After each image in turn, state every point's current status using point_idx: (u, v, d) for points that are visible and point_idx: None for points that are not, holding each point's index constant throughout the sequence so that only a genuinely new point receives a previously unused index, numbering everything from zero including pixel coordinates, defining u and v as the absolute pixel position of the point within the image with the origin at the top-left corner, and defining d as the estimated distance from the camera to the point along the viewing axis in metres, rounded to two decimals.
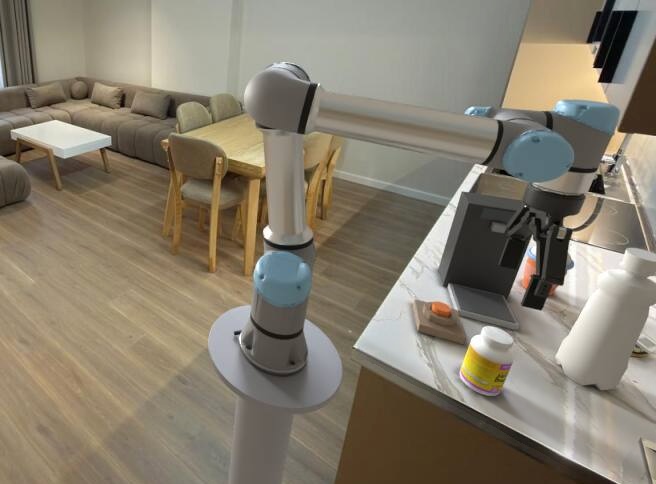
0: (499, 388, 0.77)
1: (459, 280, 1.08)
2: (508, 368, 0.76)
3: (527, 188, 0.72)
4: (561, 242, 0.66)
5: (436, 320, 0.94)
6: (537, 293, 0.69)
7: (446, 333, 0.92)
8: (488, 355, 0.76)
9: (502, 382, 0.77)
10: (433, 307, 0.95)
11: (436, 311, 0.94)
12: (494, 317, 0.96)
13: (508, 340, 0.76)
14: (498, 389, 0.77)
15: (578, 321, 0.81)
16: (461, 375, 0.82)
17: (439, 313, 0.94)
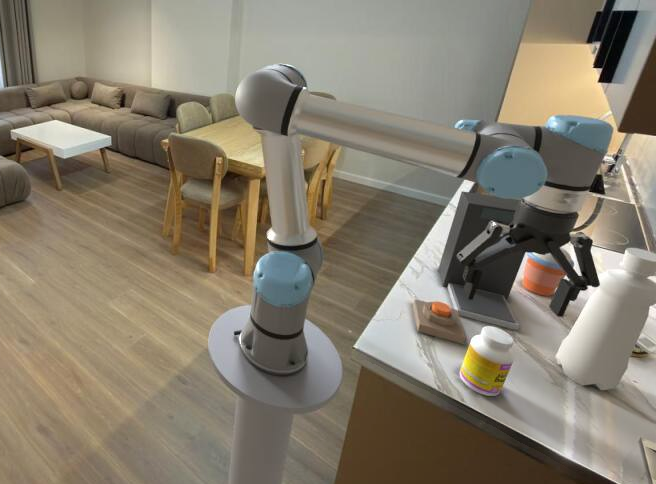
0: (499, 388, 0.77)
1: (459, 280, 1.08)
2: (508, 368, 0.76)
3: None
4: (487, 234, 0.73)
5: (436, 320, 0.94)
6: (463, 275, 0.77)
7: (446, 333, 0.92)
8: (488, 355, 0.76)
9: (502, 382, 0.77)
10: (433, 307, 0.95)
11: (436, 311, 0.94)
12: (494, 317, 0.96)
13: (508, 340, 0.76)
14: (498, 389, 0.77)
15: (578, 321, 0.81)
16: (461, 375, 0.82)
17: (439, 313, 0.94)
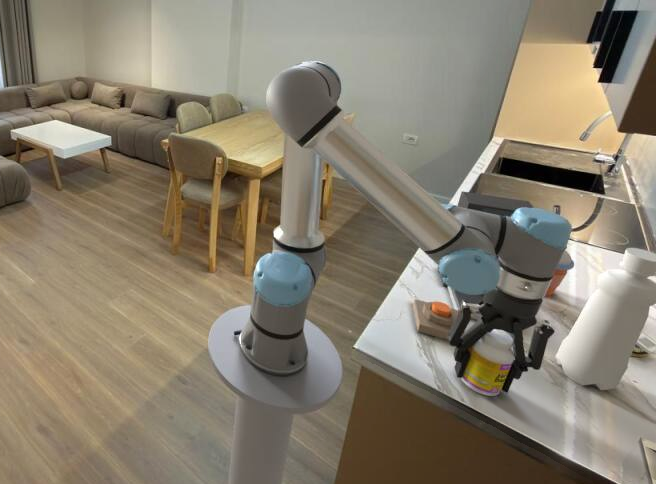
0: (499, 388, 0.77)
1: None
2: (508, 368, 0.76)
3: None
4: (461, 314, 0.78)
5: (436, 320, 0.94)
6: (453, 353, 0.82)
7: (446, 333, 0.92)
8: (488, 355, 0.76)
9: (502, 382, 0.77)
10: (433, 307, 0.95)
11: (436, 311, 0.94)
12: None
13: (508, 340, 0.76)
14: (498, 389, 0.77)
15: (578, 321, 0.81)
16: None
17: (439, 313, 0.94)
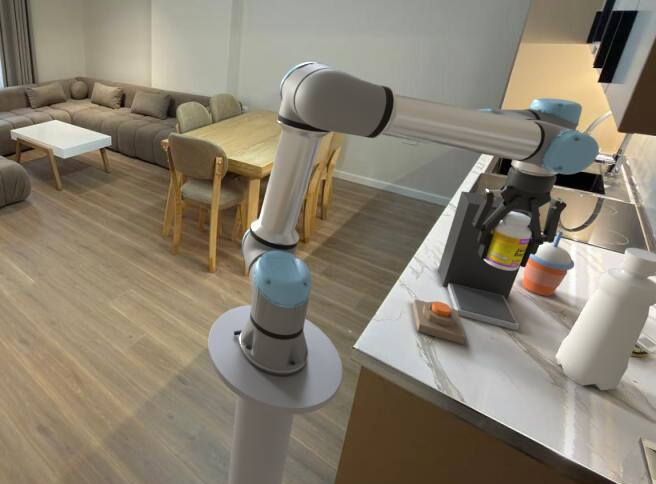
0: (518, 262, 0.90)
1: (459, 280, 1.08)
2: (526, 243, 0.88)
3: None
4: (485, 200, 0.91)
5: (436, 320, 0.94)
6: (477, 239, 0.95)
7: (446, 333, 0.92)
8: (509, 232, 0.88)
9: (521, 257, 0.89)
10: (433, 307, 0.95)
11: (436, 311, 0.94)
12: (494, 317, 0.96)
13: (526, 218, 0.88)
14: (517, 263, 0.90)
15: (578, 321, 0.81)
16: None
17: (439, 313, 0.94)
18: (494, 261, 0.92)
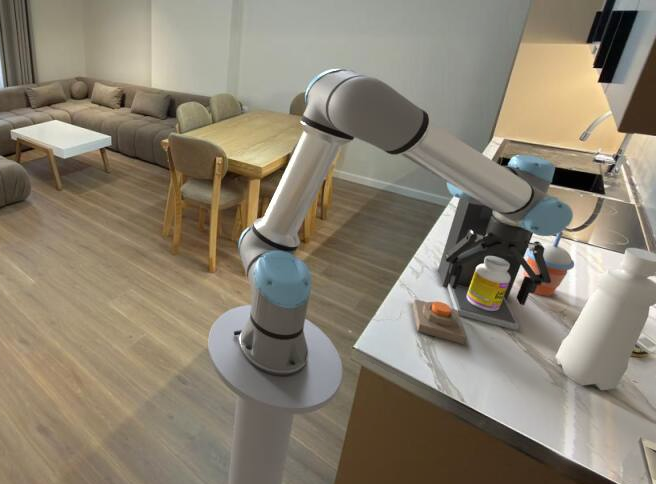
0: (498, 304, 0.97)
1: (459, 280, 1.08)
2: (505, 286, 0.95)
3: None
4: (466, 239, 0.98)
5: (436, 320, 0.94)
6: (449, 270, 1.03)
7: (446, 333, 0.92)
8: (490, 276, 0.96)
9: (501, 299, 0.97)
10: (433, 307, 0.95)
11: (436, 311, 0.94)
12: (494, 317, 0.96)
13: (506, 264, 0.95)
14: (498, 305, 0.97)
15: (578, 321, 0.81)
16: (468, 297, 1.01)
17: (439, 313, 0.94)
18: (477, 302, 0.99)
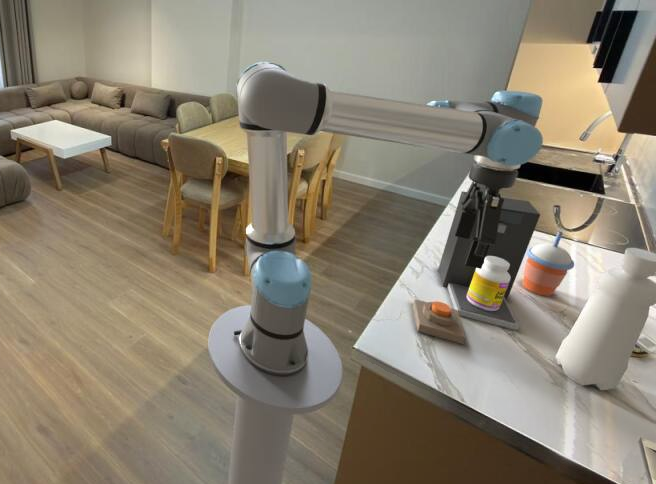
0: (498, 304, 0.97)
1: (459, 280, 1.08)
2: (505, 286, 0.95)
3: (472, 166, 0.85)
4: (495, 209, 0.80)
5: (436, 320, 0.94)
6: (476, 253, 0.83)
7: (446, 333, 0.92)
8: (490, 276, 0.96)
9: (501, 299, 0.97)
10: (433, 307, 0.95)
11: (436, 311, 0.94)
12: (494, 317, 0.96)
13: (506, 264, 0.95)
14: (498, 305, 0.97)
15: (578, 321, 0.81)
16: (468, 297, 1.01)
17: (439, 313, 0.94)
18: (477, 302, 0.99)
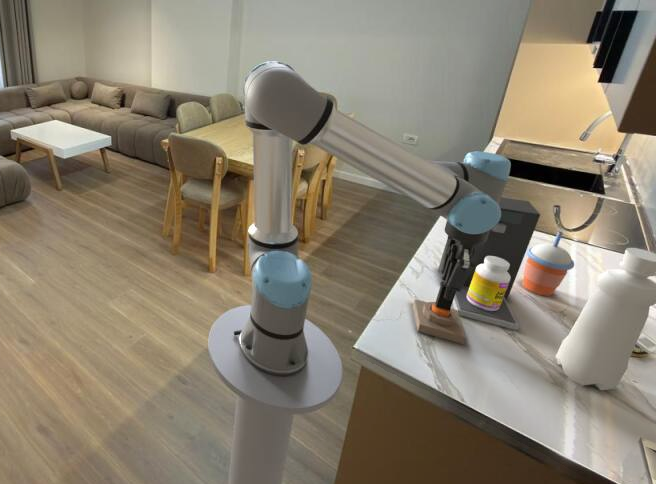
0: (498, 304, 0.97)
1: None
2: (505, 286, 0.95)
3: (447, 221, 0.89)
4: (464, 270, 0.85)
5: (436, 320, 0.94)
6: (445, 297, 0.92)
7: (446, 333, 0.92)
8: (490, 276, 0.96)
9: (501, 299, 0.97)
10: (433, 308, 0.95)
11: (436, 312, 0.95)
12: (494, 317, 0.96)
13: (506, 264, 0.95)
14: (498, 305, 0.97)
15: (578, 321, 0.81)
16: (468, 297, 1.01)
17: (439, 314, 0.94)
18: (477, 302, 0.99)
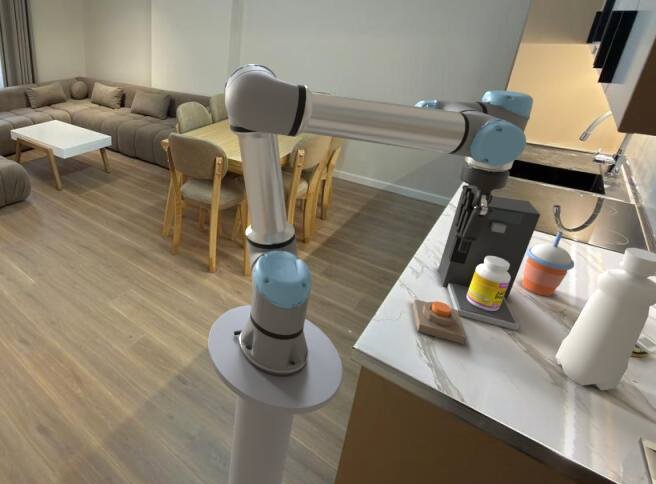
0: (498, 304, 0.97)
1: (459, 280, 1.08)
2: (505, 286, 0.95)
3: (463, 167, 0.84)
4: (482, 217, 0.81)
5: (436, 320, 0.94)
6: (460, 249, 0.88)
7: (446, 333, 0.92)
8: (490, 276, 0.96)
9: (501, 299, 0.97)
10: (433, 307, 0.95)
11: (436, 311, 0.94)
12: (494, 317, 0.96)
13: (506, 264, 0.95)
14: (498, 305, 0.97)
15: (578, 321, 0.81)
16: (468, 297, 1.01)
17: (439, 313, 0.94)
18: (477, 302, 0.99)
